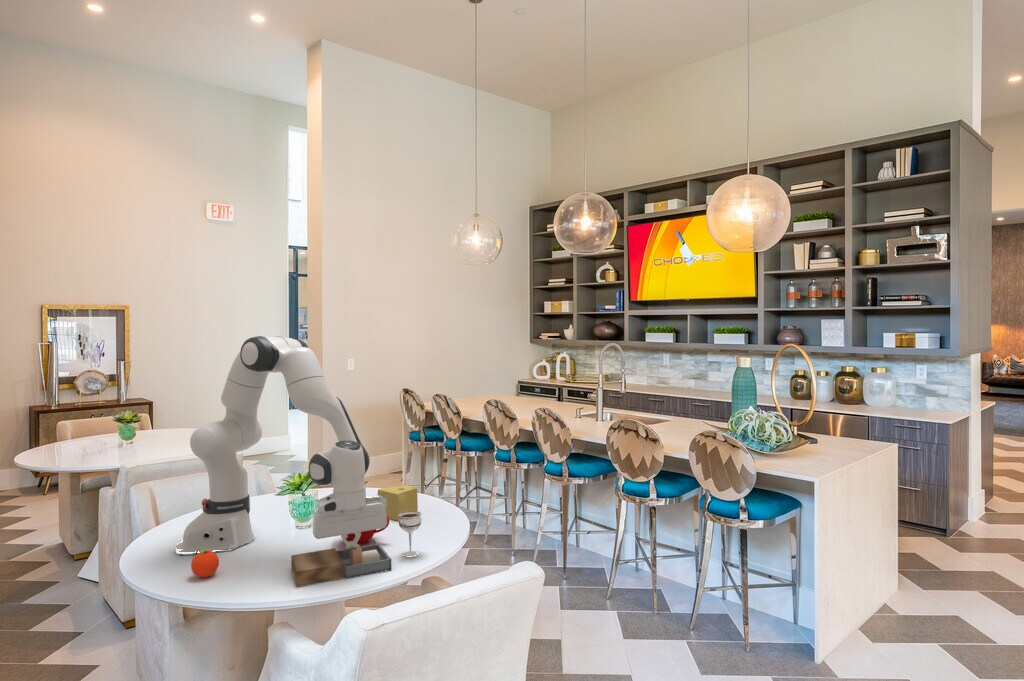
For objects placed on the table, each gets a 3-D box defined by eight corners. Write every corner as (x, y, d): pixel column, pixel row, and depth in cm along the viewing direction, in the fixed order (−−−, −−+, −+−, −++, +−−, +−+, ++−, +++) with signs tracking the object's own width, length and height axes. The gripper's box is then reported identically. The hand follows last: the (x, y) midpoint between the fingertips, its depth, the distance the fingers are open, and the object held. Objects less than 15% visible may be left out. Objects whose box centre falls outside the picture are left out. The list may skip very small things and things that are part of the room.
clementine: (182, 579, 166) (181, 553, 166) (203, 569, 173) (202, 544, 172) (204, 583, 163) (204, 556, 163) (225, 573, 170) (224, 547, 170)
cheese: (398, 509, 227) (398, 483, 227) (419, 514, 221) (419, 487, 221) (377, 517, 219) (376, 489, 219) (398, 522, 213) (397, 493, 213)
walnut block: (297, 586, 160) (296, 571, 160) (291, 569, 172) (291, 555, 172) (343, 578, 165) (343, 563, 165) (335, 561, 177) (335, 548, 177)
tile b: (352, 551, 170) (361, 549, 171) (349, 545, 174) (358, 544, 175) (353, 569, 170) (362, 567, 171) (350, 562, 175) (358, 561, 176)
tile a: (379, 555, 173) (380, 563, 174) (375, 549, 178) (376, 558, 178) (362, 558, 171) (362, 567, 171) (358, 552, 176) (358, 561, 176)
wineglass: (402, 549, 186) (401, 510, 185) (424, 550, 185) (423, 511, 185) (396, 558, 179) (395, 517, 179) (418, 558, 178) (418, 517, 178)
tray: (346, 578, 165) (345, 567, 165) (336, 560, 178) (336, 550, 177) (391, 569, 170) (391, 559, 170) (379, 553, 183) (379, 543, 183)
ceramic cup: (381, 551, 185) (380, 518, 185) (329, 548, 188) (328, 515, 188) (397, 536, 198) (396, 506, 197) (348, 534, 201) (348, 503, 201)
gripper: (383, 491, 179) (385, 538, 179) (310, 502, 170) (312, 551, 171) (389, 496, 174) (390, 545, 174) (314, 507, 165) (315, 558, 165)
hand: (351, 548), depth 172 cm, fingers closed, pressing on tile b
